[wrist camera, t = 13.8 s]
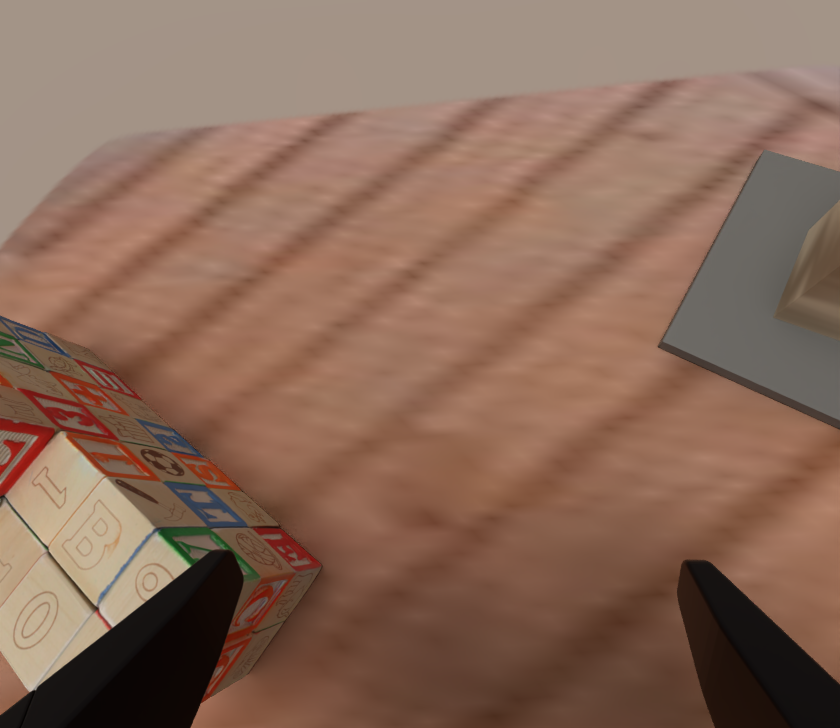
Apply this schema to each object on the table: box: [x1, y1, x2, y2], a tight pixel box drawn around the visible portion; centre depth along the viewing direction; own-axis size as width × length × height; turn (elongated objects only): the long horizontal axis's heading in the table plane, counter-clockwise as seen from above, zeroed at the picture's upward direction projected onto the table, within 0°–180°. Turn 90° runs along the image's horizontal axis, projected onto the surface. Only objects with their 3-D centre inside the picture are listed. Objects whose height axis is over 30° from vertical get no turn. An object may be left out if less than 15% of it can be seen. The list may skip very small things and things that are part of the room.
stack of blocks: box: [0, 316, 322, 703], centre depth 21 cm, size 21×6×12 cm, turn 54°
